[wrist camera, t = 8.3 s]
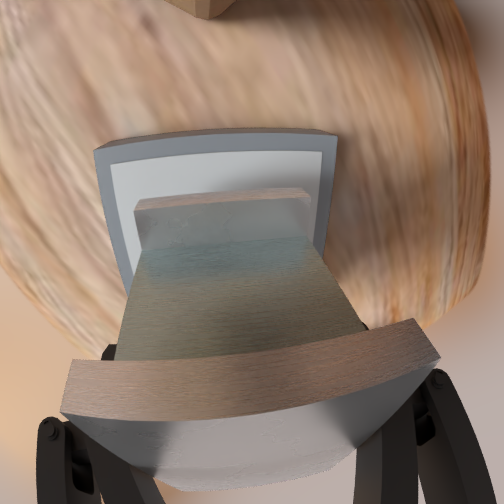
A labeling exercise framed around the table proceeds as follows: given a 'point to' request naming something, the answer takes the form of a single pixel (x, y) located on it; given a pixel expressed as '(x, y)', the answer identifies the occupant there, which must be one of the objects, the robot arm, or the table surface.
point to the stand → (211, 175)
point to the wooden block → (202, 7)
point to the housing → (240, 350)
